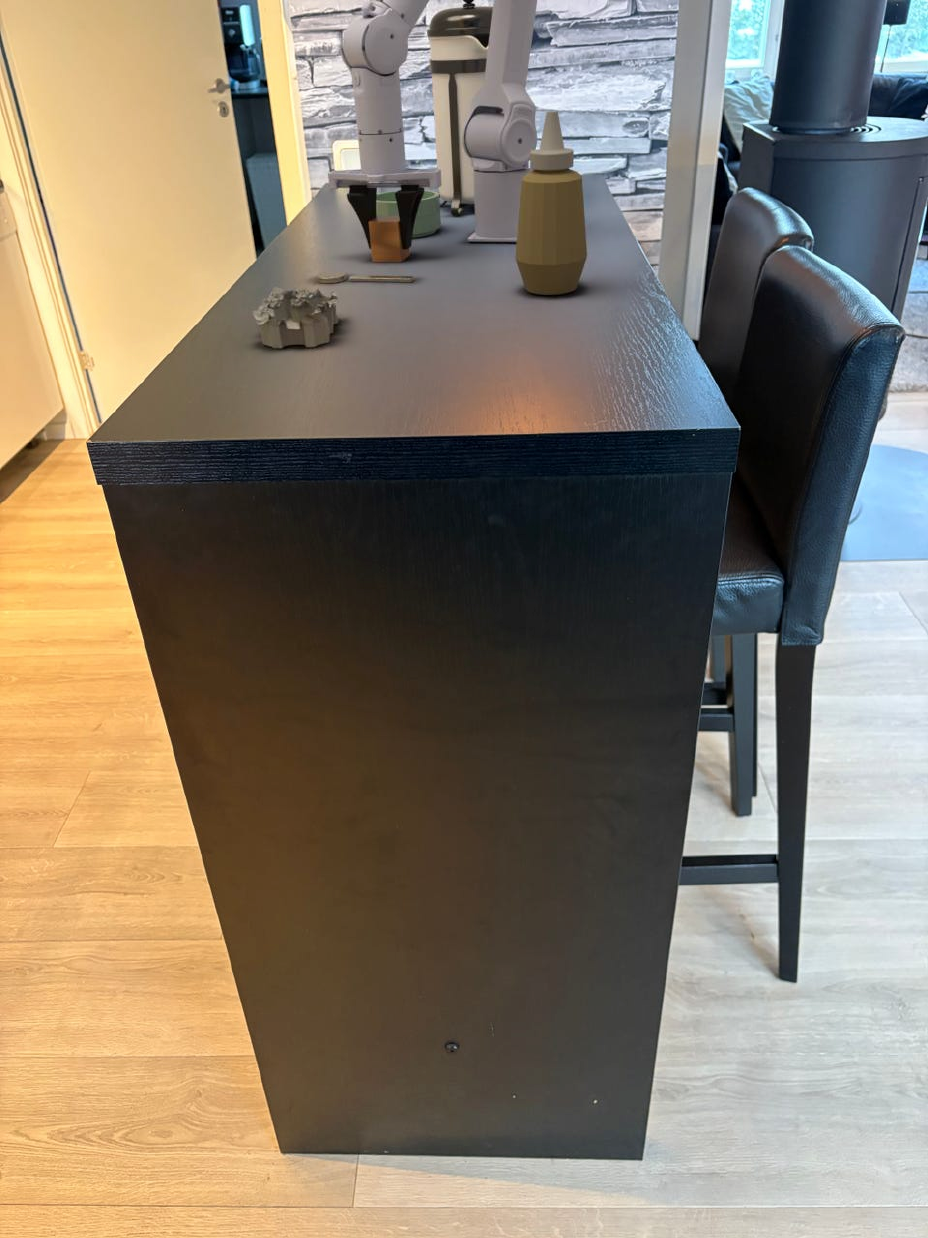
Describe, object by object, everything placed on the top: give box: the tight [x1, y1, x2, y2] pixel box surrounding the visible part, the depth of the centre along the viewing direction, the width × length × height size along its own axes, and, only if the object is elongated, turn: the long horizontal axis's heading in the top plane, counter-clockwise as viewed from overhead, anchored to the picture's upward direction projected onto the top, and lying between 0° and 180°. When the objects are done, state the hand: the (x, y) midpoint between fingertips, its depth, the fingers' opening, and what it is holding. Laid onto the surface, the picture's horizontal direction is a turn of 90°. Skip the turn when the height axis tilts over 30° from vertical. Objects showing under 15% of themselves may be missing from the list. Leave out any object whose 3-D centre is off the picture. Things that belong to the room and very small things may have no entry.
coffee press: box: [426, 0, 504, 217], centre depth 144 cm, size 17×16×30 cm
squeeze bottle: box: [515, 110, 588, 296], centre depth 102 cm, size 8×8×18 cm
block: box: [369, 216, 411, 263], centre depth 122 cm, size 4×4×5 cm
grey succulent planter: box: [252, 286, 339, 349], centre depth 95 cm, size 11×8×4 cm
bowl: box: [376, 189, 442, 239], centre depth 136 cm, size 10×10×5 cm
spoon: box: [316, 270, 415, 284], centre depth 114 cm, size 12×4×1 cm, turn 76°
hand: (390, 247), depth 123 cm, fingers closed on block, 4 cm apart
